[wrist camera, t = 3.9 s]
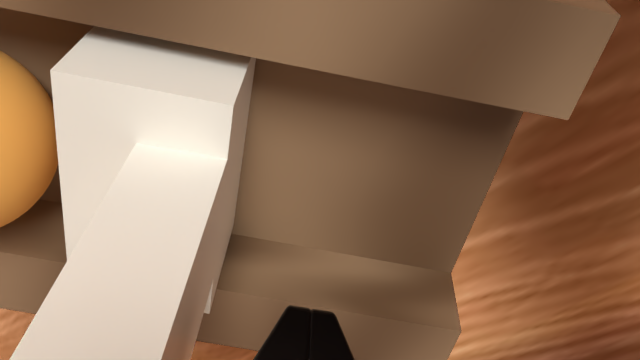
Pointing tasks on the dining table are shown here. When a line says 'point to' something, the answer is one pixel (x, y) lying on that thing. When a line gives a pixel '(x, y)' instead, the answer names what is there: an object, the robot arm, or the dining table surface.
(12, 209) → the ball
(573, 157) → the dining table surface
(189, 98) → the white offset block
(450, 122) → the launcher deck
